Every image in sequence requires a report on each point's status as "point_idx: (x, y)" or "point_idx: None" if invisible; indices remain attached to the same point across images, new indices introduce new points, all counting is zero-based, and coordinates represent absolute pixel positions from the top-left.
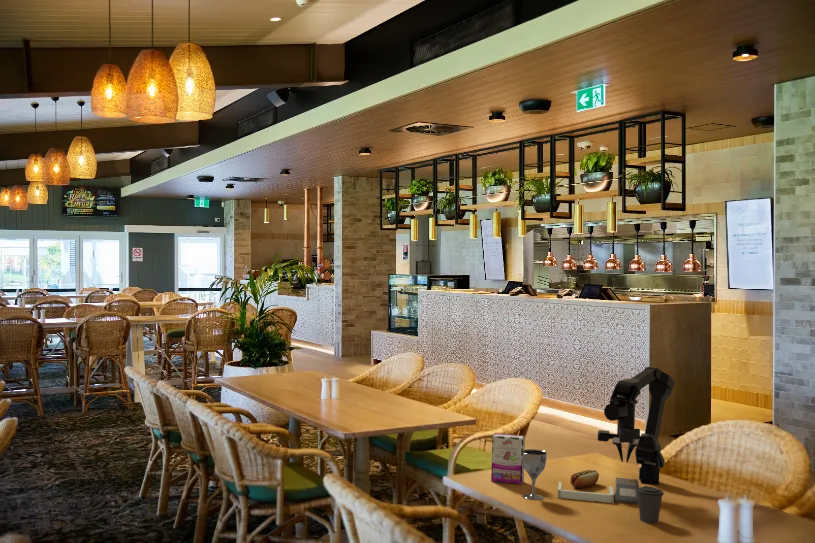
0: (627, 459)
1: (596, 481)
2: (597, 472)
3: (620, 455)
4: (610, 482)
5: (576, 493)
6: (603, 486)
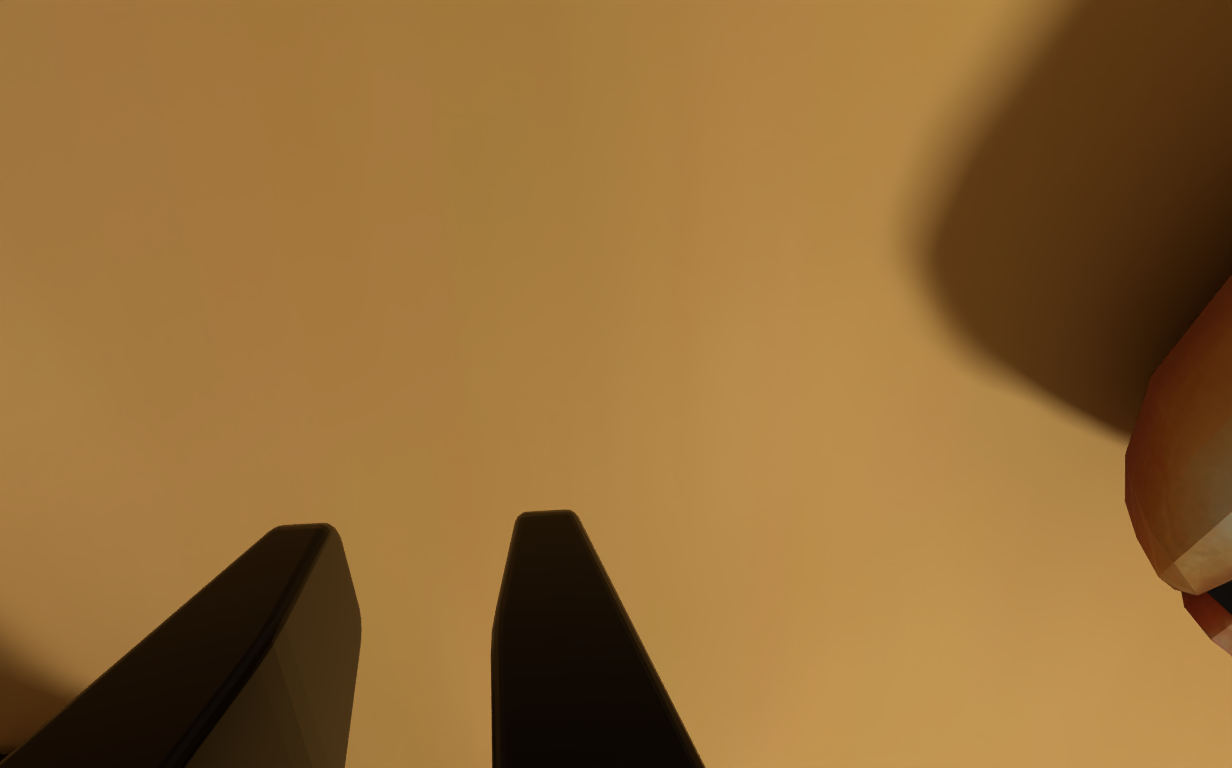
0: (237, 617)
1: (1171, 359)
2: (1209, 575)
3: (636, 734)
4: (810, 610)
5: None
6: (981, 301)
